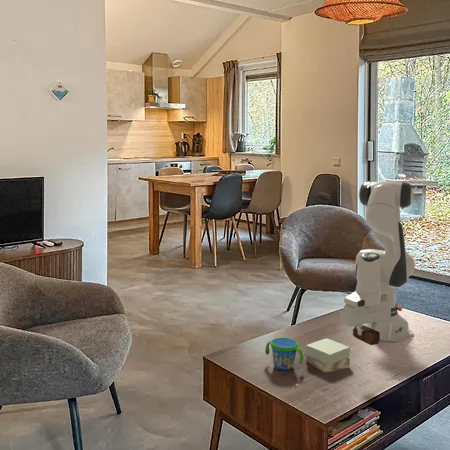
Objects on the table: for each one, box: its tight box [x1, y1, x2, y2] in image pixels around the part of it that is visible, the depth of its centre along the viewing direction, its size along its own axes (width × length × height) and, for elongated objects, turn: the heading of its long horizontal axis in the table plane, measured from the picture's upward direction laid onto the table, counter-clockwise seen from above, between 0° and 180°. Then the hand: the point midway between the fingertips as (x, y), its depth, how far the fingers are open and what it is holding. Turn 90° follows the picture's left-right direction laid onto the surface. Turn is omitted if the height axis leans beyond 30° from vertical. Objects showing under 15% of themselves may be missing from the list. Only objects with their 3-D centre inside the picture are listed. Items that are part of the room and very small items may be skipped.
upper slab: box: [305, 338, 351, 365], centre depth 217 cm, size 12×12×4 cm
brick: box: [352, 324, 381, 346], centre depth 203 cm, size 11×4×5 cm, turn 26°
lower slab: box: [305, 354, 351, 374], centre depth 217 cm, size 12×12×4 cm
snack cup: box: [265, 337, 304, 372], centre depth 214 cm, size 16×10×10 cm
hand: (366, 333), depth 203 cm, fingers closed on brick, 4 cm apart
